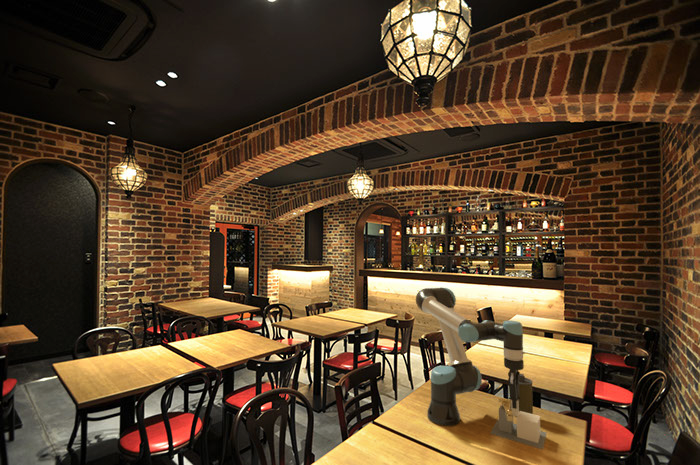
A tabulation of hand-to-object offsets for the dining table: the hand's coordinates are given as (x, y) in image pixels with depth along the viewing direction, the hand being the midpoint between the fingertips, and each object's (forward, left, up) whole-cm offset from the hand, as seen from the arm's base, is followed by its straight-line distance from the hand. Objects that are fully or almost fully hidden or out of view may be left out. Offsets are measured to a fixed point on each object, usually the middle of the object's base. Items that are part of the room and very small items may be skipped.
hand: (515, 415), depth 140 cm
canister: (-2, +29, -12) cm, 31 cm away
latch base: (0, +8, -11) cm, 14 cm away
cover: (+4, +8, -10) cm, 13 cm away
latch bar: (-3, +2, -1) cm, 4 cm away
